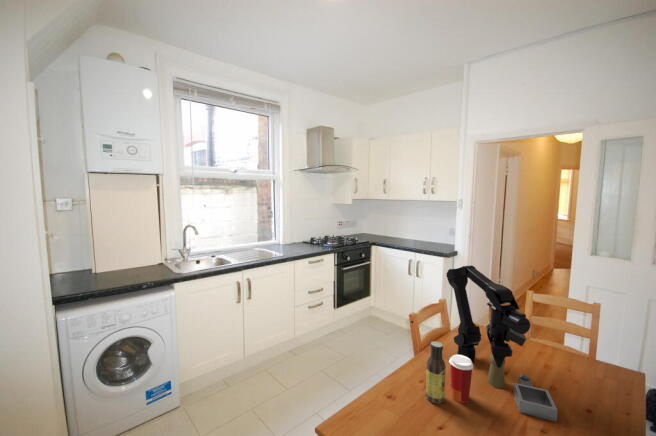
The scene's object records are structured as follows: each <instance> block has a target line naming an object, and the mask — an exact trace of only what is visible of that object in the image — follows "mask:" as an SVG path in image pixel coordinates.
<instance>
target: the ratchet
mask: <svg viewBox="0 0 656 436" xmlns="http://www.w3.org/2000/svg"><path fill="white" fill-rule="evenodd" d="M517 379H518V381H519V382H518V383H517V382H513V391H512V392H513V396H514V400H515V402H516V405H517V409H518V412H519V414H524V415H527V416H531V417H535V418H539V419H544V420H548V421H550V422H554V423H555V422H556V423H558V422H557V421H558V411H559V410H558V407H556V404H555V402H554V400H553V398H552V396H551V393H550V392H549V390H548V389H544V388H541V387H540V388H538V387H536V386H534V385H533V381H532V380H531V378H530V377H529V376H528V375H527V374H523V373H522V374H519V376H518V377H517Z"/></svg>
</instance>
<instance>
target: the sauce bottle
mask: <svg viewBox="0 0 656 436" xmlns="http://www.w3.org/2000/svg"><path fill="white" fill-rule="evenodd" d="M430 349H431V350H430V356H429V358H428V359H427V361H426V374H425V375H426V376H425V377H426V378H425V380H426V381H425V396H426V398H427V400H428V401H429V402H431V403H433V404H434V403H435V404H441V403H443V402H444V401H445V397H446V396H445V395H446V374H447V373H446V371H447V370H446V369H447V368H446V367H447V366H446V362H445V360H444V359H443V350H444V345H443V343H441V342H440V341H431V342H430Z"/></svg>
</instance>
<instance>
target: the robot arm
mask: <svg viewBox="0 0 656 436" xmlns="http://www.w3.org/2000/svg"><path fill="white" fill-rule="evenodd" d="M445 275H446V279H447V282H448V284H449V285H450V287H451V288H452V289H453V292H454V297H455V302H456V307H457V313H458V316H459V322H460V323H459V326H458V328H457V331H458V334H457V335H456V336H454V337H453V341H454V344H455V345H457V352H456V355H463V356H466V357H468V358H469V359H471V361H472V364H474V363H475V359H476V346H477V347H478V346H479V344H480V343H481V341H482V333H481V330H480V329H481V328H480V326H479V325H476V323H474V321H473V315H472V312H471V308H470V307H471V306H470V303H469V297H468V293H467V289H466V288H467V285H468V283H469V280H470V281H472V282H473V283H474V284H475V285H477V286H478V287H479V288H480V289H481V290H483V292H484V293H485V297H486V298H487V299H488V300H489V302H487V303H486V306H488V307H490V309H491V310H490V319H489V324H487V325H486V327H485V328H486V330H485V331H486V335H487V338H488V342H489V344H490V352H491V354H493V357H494V360H495V362H496V365H497V367H499V368H501V366H502V363H503V361H504V359H505V360H506V358H508V357H509V358H511V357H513V349H512V346H511V345H510V344H509V343H510V341H511V342H513V343H515V344H517V345H518V346H519V347H523V346H524V344H525V342H526V341H527V337H526V335H525V334H527V333H528V332H529V331H530V329H531V322H530V320H529V319H528V318H527V315H526V314H525V313H524V312H520V306H519V305H518V302H517V300H516V298H515V296H514V294H513V291H512V290H511V289H510V288H508V287H506V286H505V285H503V284H499V283H495V282H494V281H492V280H491V279H490V278H489V277H487V276H486V275H485V274H484V273H482V272H481V271H480V270H478V269H477V268H476V267H475V266H474V265H463V266H461V267H458V268H449V269H448V270H447V272H446V274H445ZM508 342H509V343H508Z"/></svg>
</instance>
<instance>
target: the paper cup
mask: <svg viewBox="0 0 656 436" xmlns="http://www.w3.org/2000/svg"><path fill="white" fill-rule="evenodd" d="M448 363H449V364H450V365H449V366H450V391H451V393H450V394H451V397H452V400H454V401H456V402H458V403H461V404H465V403H468V402H469V401H470V400H469V399H470V392H471V383H472V374H473V368H474V367H475V365H474V363H473V362H472V361H471V359H469V358H468V357H466V356H463V355H457V354H454V355H451V357H450V358H449V360H448Z"/></svg>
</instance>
